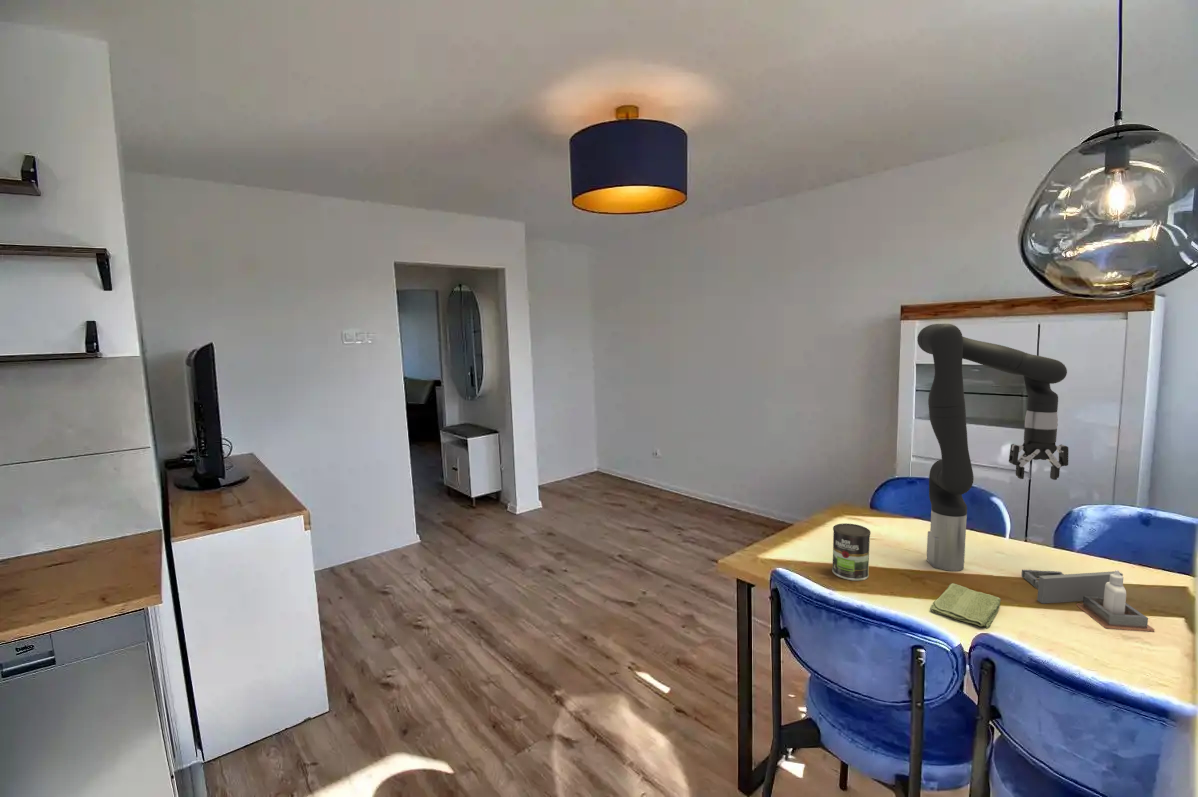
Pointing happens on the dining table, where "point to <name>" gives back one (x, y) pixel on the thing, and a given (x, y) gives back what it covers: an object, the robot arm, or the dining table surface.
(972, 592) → the washcloth
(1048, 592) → the grey divider panel
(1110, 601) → the eye dropper bottle
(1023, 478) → the robot arm
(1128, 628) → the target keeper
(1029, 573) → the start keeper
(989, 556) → the dining table surface
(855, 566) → the coffee can
